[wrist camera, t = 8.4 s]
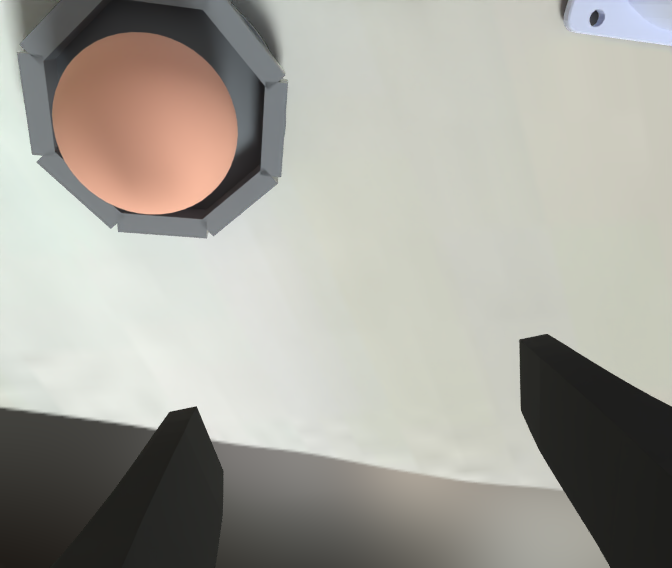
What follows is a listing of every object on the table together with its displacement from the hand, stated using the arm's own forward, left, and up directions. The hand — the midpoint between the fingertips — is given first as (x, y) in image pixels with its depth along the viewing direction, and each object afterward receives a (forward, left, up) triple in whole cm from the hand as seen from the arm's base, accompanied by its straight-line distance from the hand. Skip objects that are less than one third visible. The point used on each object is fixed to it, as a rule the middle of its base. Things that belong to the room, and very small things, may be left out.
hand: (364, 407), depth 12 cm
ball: (+6, -4, -10) cm, 12 cm away
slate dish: (+6, -4, -10) cm, 13 cm away
